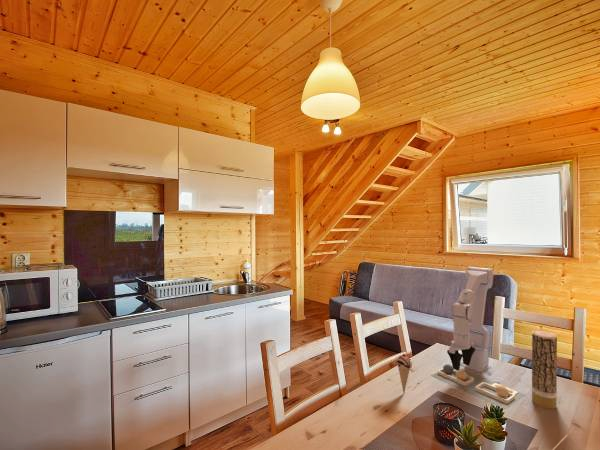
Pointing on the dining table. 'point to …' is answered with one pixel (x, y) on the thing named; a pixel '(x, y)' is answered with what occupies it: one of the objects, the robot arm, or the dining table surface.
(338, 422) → the dining table surface
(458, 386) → the sorting board
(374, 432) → the dining table surface
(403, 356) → the ice cream cone
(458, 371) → the tan ball
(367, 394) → the dining table surface
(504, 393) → the tan ball
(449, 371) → the charcoal ball
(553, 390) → the bark log
